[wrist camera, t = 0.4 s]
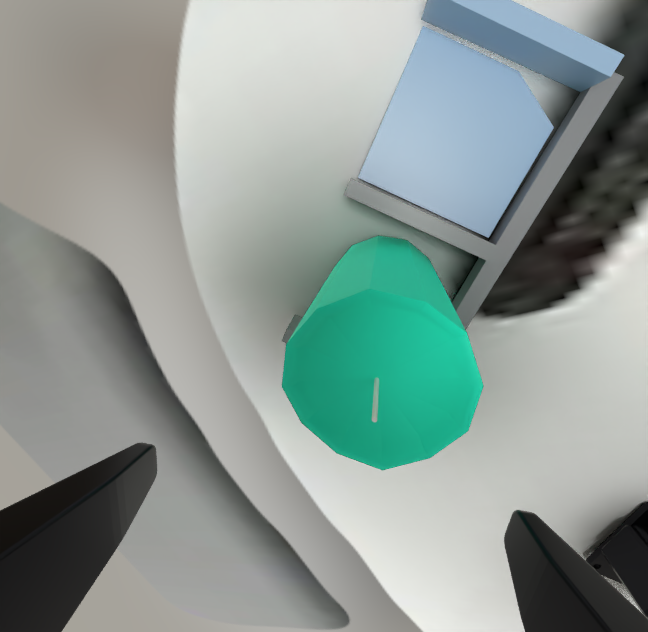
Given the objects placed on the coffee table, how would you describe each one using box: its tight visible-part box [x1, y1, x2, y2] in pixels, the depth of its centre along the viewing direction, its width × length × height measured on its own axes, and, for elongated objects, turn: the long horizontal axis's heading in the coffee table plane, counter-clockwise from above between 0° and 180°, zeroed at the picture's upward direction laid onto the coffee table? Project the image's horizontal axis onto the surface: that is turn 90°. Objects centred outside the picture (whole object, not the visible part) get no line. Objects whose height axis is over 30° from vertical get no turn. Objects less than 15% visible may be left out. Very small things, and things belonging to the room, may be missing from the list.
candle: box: [282, 236, 483, 470], centre depth 15 cm, size 6×6×12 cm
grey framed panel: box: [282, 0, 624, 343], centre depth 18 cm, size 9×17×2 cm, turn 157°
